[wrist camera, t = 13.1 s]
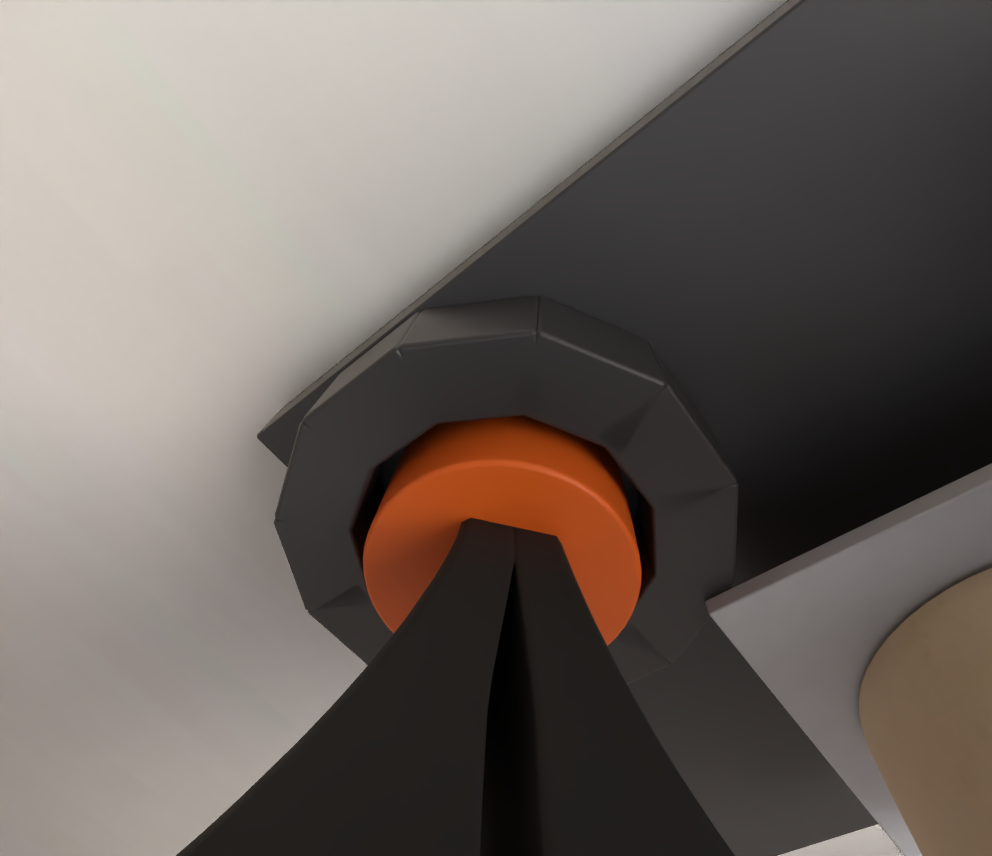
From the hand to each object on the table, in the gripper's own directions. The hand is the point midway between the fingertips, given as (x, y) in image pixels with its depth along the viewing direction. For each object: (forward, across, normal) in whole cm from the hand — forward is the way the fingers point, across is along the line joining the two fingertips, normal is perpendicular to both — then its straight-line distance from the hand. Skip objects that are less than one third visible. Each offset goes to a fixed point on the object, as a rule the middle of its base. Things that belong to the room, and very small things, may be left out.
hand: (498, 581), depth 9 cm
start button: (+2, 0, 0) cm, 2 cm away
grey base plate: (+4, -6, 0) cm, 7 cm away
